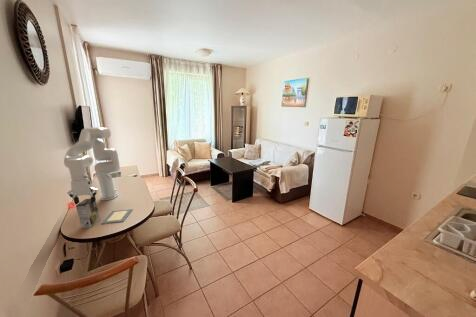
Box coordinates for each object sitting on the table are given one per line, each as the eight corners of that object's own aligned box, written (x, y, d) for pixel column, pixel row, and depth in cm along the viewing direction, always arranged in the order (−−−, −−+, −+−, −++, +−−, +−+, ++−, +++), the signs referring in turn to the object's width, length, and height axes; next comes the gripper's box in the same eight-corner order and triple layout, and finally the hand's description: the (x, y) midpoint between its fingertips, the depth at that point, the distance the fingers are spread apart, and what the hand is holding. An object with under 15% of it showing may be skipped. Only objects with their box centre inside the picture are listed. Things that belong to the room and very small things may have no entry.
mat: (112, 211, 141) (112, 210, 141) (132, 209, 143) (132, 208, 143) (101, 224, 126) (100, 223, 126) (123, 221, 128) (123, 220, 127)
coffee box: (90, 220, 131) (85, 198, 127) (100, 219, 131) (95, 198, 127) (81, 228, 122) (75, 205, 118) (91, 227, 123) (85, 204, 118)
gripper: (97, 174, 123) (103, 198, 127) (68, 176, 121) (74, 201, 125) (90, 178, 116) (96, 204, 120) (59, 180, 114) (66, 206, 118)
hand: (85, 202), depth 122 cm, fingers open, 9 cm apart
